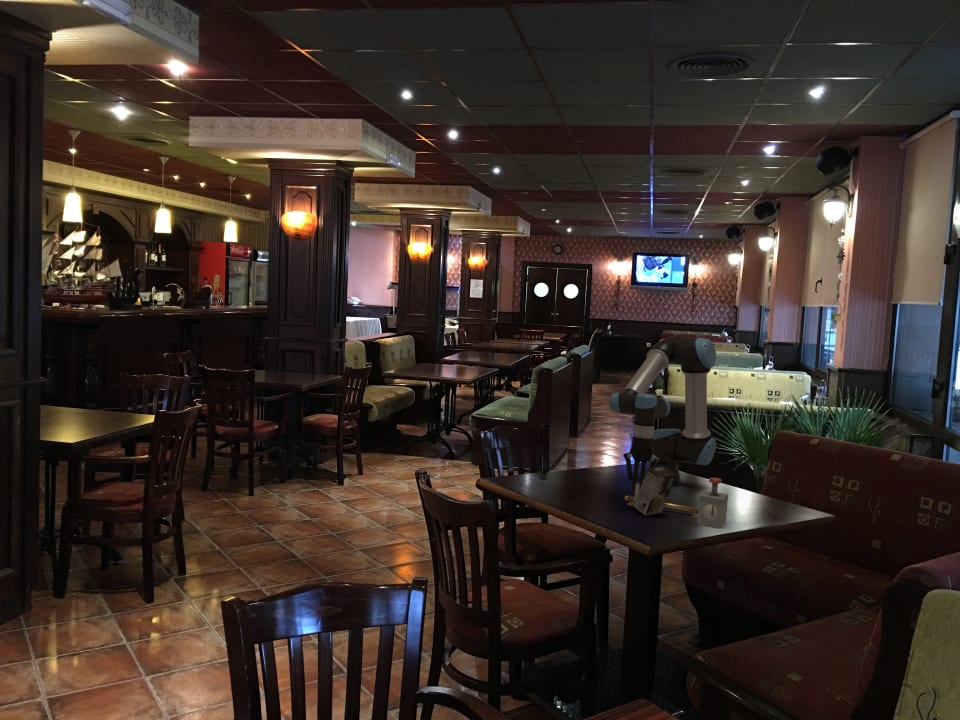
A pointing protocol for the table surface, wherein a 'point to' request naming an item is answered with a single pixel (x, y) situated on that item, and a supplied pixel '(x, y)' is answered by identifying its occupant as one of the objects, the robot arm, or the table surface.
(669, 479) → the coffee box
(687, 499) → the table surface
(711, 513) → the cabinet
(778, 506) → the table surface
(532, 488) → the table surface
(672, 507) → the rail
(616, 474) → the table surface
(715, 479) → the plunger
